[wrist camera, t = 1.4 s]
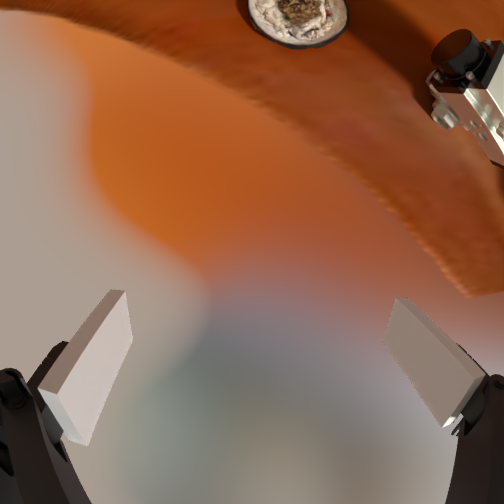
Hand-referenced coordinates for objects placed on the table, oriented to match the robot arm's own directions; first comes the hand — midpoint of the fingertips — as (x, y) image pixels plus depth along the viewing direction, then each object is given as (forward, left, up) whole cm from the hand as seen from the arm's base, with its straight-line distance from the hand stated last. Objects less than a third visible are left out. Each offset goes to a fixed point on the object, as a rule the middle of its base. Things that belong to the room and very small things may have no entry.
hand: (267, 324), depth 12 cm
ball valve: (-27, +12, -27) cm, 40 cm away
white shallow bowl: (-21, -11, -27) cm, 36 cm away
